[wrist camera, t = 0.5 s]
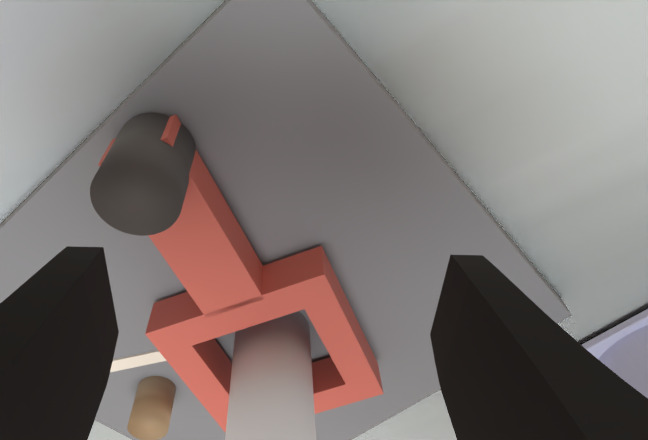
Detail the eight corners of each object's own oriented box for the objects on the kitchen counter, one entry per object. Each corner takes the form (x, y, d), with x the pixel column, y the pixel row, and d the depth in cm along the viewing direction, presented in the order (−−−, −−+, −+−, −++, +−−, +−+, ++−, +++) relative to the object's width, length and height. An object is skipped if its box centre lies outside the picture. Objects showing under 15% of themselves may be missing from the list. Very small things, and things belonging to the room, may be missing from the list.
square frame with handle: (377, 362, 24) (389, 423, 21) (232, 406, 25) (227, 469, 22) (239, 74, 16) (231, 116, 14) (40, 154, 17) (-1, 206, 15)
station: (561, 299, 24) (651, 444, 18) (247, 481, 30) (239, 632, 24) (272, -47, 15) (267, 17, 10) (-80, 303, 22) (-211, 470, 16)
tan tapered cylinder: (183, 388, 24) (176, 428, 22) (159, 404, 24) (150, 445, 23) (154, 370, 23) (145, 410, 22) (130, 388, 24) (118, 428, 22)
